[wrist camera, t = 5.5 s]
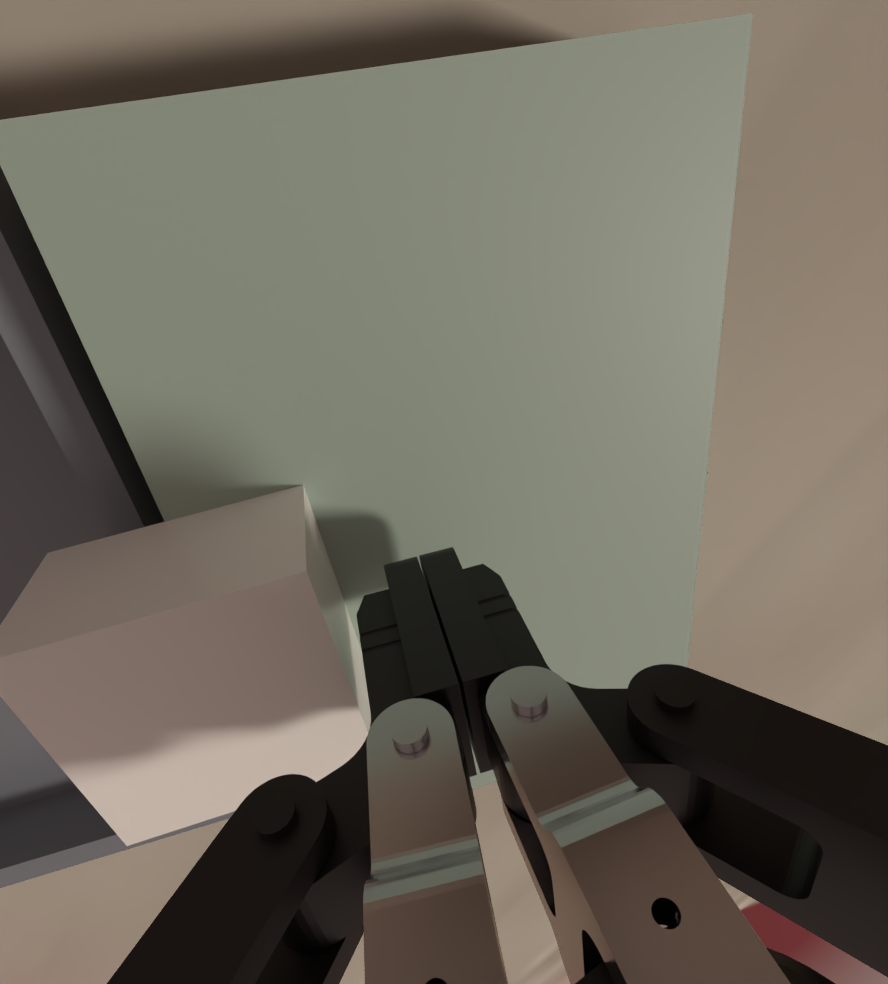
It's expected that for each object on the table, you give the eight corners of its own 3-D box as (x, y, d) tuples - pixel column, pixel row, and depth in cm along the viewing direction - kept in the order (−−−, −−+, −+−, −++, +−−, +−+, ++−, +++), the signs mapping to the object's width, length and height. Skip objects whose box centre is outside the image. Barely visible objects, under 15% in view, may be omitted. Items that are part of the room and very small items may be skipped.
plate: (73, 139, 11) (-20, 123, 8) (631, 57, 13) (753, 13, 10) (307, 729, 20) (311, 839, 17) (620, 638, 22) (681, 723, 19)
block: (47, 552, 11) (-26, 664, 9) (303, 484, 12) (306, 570, 9) (157, 720, 14) (126, 846, 11) (363, 658, 14) (379, 764, 12)
